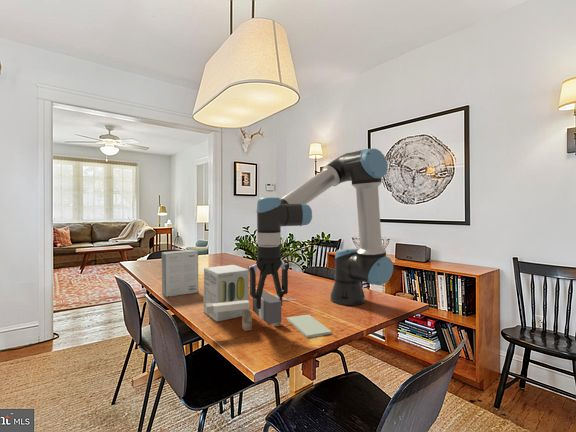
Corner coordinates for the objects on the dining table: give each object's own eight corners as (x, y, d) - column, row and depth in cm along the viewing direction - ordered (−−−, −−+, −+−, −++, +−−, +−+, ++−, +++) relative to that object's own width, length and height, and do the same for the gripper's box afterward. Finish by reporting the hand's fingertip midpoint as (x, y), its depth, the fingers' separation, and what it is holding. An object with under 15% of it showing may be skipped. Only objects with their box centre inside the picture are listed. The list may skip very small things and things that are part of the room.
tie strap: (247, 306, 104) (247, 299, 104) (249, 309, 101) (250, 302, 101) (205, 310, 99) (205, 303, 99) (206, 314, 96) (206, 306, 96)
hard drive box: (194, 289, 153) (194, 249, 152) (198, 292, 146) (198, 251, 146) (161, 293, 144) (161, 251, 144) (164, 297, 138) (164, 253, 137)
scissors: (281, 304, 128) (249, 295, 141) (281, 306, 128) (249, 296, 141) (297, 299, 136) (266, 290, 149) (297, 301, 136) (266, 292, 149)
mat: (308, 316, 115) (308, 314, 115) (331, 333, 99) (331, 331, 99) (286, 319, 111) (286, 317, 111) (306, 337, 96) (306, 335, 96)
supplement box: (216, 322, 108) (216, 273, 108) (203, 312, 119) (203, 267, 119) (249, 315, 116) (249, 269, 116) (234, 305, 127) (234, 264, 126)
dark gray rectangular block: (264, 308, 108) (264, 290, 108) (281, 321, 95) (281, 301, 95) (252, 310, 106) (252, 292, 106) (268, 324, 93) (268, 303, 93)
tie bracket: (277, 322, 109) (278, 305, 108) (280, 325, 106) (281, 308, 106) (242, 327, 104) (242, 310, 104) (244, 330, 101) (244, 312, 101)
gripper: (289, 242, 104) (290, 309, 105) (239, 245, 98) (239, 317, 98) (298, 245, 98) (299, 317, 98) (244, 248, 91) (245, 325, 91)
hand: (269, 316), depth 98 cm, fingers closed on dark gray rectangular block, 5 cm apart
